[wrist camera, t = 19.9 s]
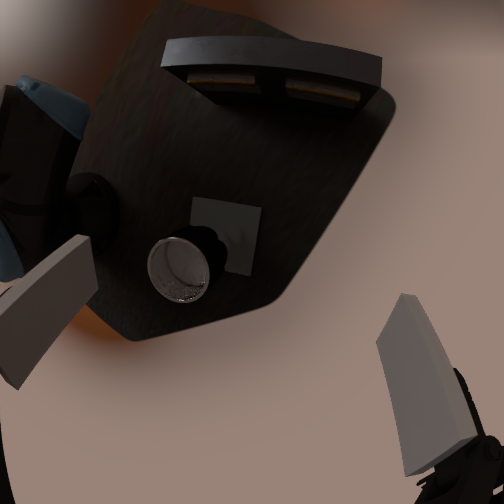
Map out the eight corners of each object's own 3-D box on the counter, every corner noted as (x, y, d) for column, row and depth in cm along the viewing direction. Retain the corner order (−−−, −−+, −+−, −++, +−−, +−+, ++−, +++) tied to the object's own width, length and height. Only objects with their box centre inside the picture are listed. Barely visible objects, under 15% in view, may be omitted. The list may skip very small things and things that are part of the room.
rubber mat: (187, 261, 42) (186, 262, 42) (194, 196, 39) (192, 196, 39) (250, 275, 41) (250, 276, 40) (261, 207, 38) (261, 208, 37)
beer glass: (197, 213, 39) (141, 235, 25) (244, 211, 38) (208, 234, 24) (201, 259, 41) (151, 302, 27) (247, 260, 40) (214, 307, 25)
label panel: (214, 106, 35) (159, 71, 20) (220, 69, 33) (173, 20, 18) (350, 125, 32) (380, 92, 17) (354, 86, 31) (382, 35, 15)
